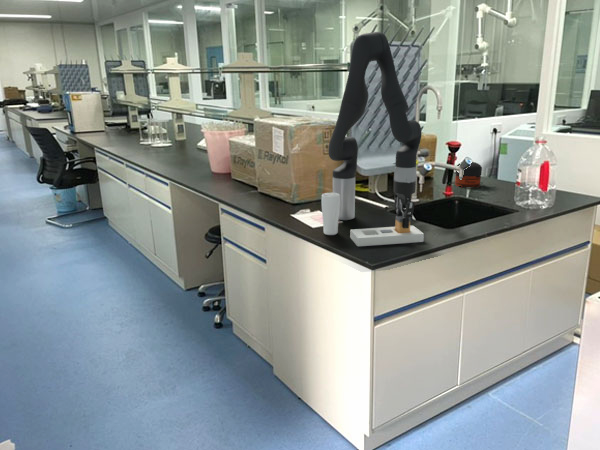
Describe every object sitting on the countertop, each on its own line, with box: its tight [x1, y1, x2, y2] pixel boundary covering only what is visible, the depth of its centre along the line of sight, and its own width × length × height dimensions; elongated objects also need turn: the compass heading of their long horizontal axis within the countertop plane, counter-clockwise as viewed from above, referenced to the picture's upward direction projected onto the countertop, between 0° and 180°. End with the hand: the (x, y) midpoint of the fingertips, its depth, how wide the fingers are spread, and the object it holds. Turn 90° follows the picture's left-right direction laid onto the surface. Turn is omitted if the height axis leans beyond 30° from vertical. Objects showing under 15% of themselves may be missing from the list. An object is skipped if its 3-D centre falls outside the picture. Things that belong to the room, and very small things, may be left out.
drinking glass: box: [321, 192, 340, 236], centre depth 177 cm, size 7×7×15 cm
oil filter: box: [454, 161, 483, 188], centre depth 252 cm, size 13×12×13 cm
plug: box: [394, 215, 411, 233], centre depth 171 cm, size 4×4×8 cm
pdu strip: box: [349, 225, 425, 247], centre depth 171 cm, size 10×24×3 cm, turn 99°
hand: (402, 225), depth 171 cm, fingers open, 4 cm apart
